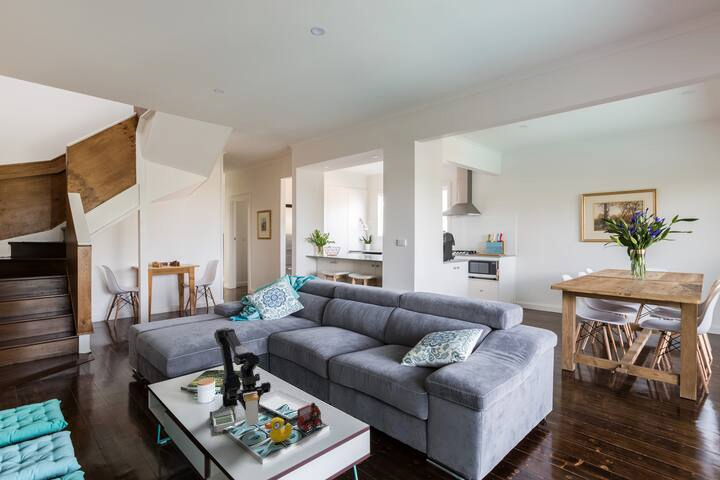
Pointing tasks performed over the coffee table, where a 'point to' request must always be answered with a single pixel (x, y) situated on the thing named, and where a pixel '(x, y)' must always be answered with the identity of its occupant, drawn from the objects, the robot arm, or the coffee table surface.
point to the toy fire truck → (309, 417)
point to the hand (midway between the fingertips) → (251, 409)
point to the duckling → (278, 430)
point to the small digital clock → (222, 419)
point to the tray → (281, 402)
